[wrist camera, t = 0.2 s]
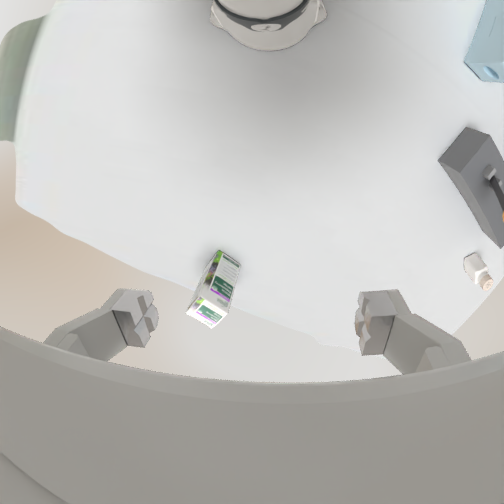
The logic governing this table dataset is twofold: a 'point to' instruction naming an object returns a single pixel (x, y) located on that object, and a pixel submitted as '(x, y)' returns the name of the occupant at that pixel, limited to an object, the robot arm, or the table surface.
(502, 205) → the orange lever
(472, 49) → the light blue rounded box
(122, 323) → the robot arm
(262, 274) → the table surface
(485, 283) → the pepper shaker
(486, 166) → the switch box
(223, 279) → the syrup box
